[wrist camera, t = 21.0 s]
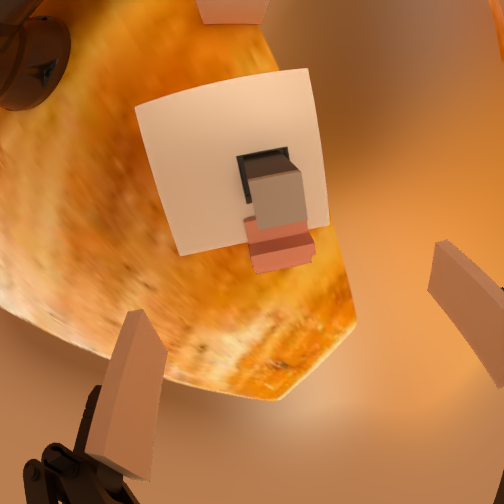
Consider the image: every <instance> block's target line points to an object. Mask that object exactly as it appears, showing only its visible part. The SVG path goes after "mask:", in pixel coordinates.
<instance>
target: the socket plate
mask: <svg viewBox="0 0 504 504" xmlns="http://www.w3.org/2000/svg"><path fill="white" fill-rule="evenodd" d="M134 108H135V112H136V116H137V120H138V123H139V127H140V131H141V135H142V139H143V142H144V146H145V149H146V153H147V156H148V160H149V163H150V167H151V170H152V174H153V177H154V180H155V183H156V187H157V190H158V193H159V196H160V199H161V202H162V206H163V209H164V212H165V215H166V218H167V221H168V224H169V227H170V229H171V232H172V235H173V238H174V241H175V244H176V247H177V249H178V252H179V255H180V256H184V255H189V254H194V253H198V252H203V251H208V250H212V249H217V248H222V247H226V246H231V245H236V244H241V243H246V242H248V238H247V234H246V230H245V225H244V219H247V218H252V217H255V212H254V207H253V203H252V198H251V193H250V189H249V184H248V179H247V175H246V170H245V165H244V161H243V157H244V156H249V155H254V154H259V153H264V152H269V151H275V150H278V151H279V152H281V153H282V154H283V155H284V156H285V157H286V158H287V159H288V160H289V161H290V162H292V163H293V164H294V165H295V166H296V167H297V168H298V169H299V170H300V171H301V173H302V180H303V187H304V194H305V201H306V209H307V217H308V220H307V225H308V230H309V229H314V228H319V227H324V226H329V225H330V220H329V208H328V198H327V188H326V181H325V180H326V179H325V172H324V164H323V156H322V148H321V141H320V134H319V129H318V122H317V115H316V109H315V104H314V98H313V93H312V88H311V83H310V78H309V73H308V68H304V69H294V70H284V71H276V72H269V73H262V74H256V75H250V76H245V77H239V78H234V79H229V80H224V81H220V82H215V83H211V84H207V85H203V86H199V87H195V88H191V89H188V90H184V91H181V92H177V93H174V94H171V95H167V96H164V97H161V98H158V99H155V100H152V101H149V102H146V103H143V104H141V105H138V106H135V107H134Z"/></svg>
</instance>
